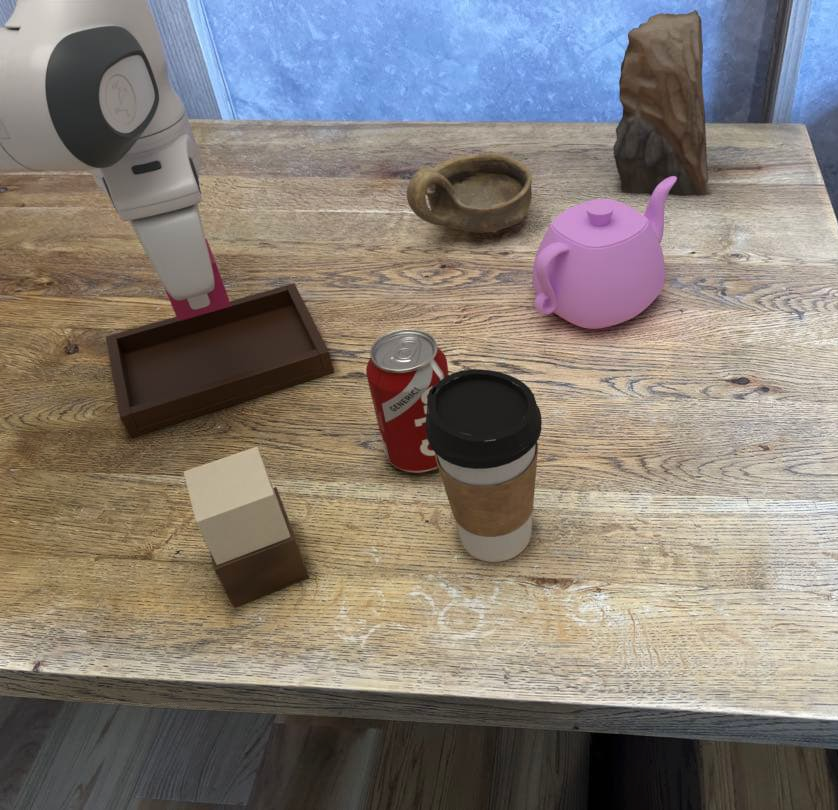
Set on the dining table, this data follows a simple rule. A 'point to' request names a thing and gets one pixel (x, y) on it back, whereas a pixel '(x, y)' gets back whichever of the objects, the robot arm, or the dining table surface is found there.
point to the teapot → (602, 261)
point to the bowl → (472, 192)
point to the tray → (214, 359)
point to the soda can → (405, 394)
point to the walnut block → (263, 569)
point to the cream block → (235, 505)
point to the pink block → (216, 296)
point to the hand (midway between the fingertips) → (194, 287)
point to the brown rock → (663, 107)
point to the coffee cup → (486, 458)
